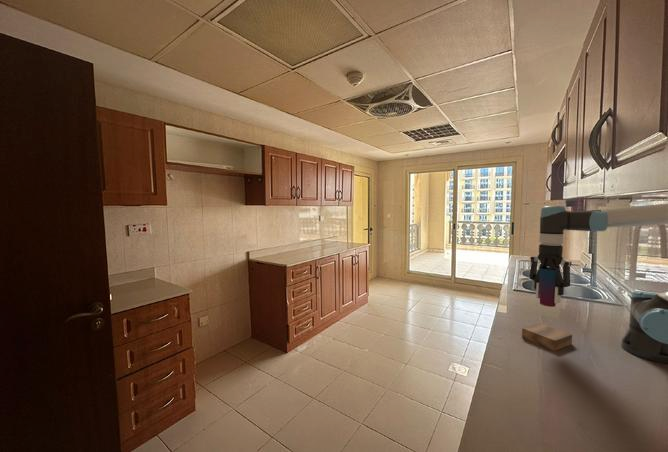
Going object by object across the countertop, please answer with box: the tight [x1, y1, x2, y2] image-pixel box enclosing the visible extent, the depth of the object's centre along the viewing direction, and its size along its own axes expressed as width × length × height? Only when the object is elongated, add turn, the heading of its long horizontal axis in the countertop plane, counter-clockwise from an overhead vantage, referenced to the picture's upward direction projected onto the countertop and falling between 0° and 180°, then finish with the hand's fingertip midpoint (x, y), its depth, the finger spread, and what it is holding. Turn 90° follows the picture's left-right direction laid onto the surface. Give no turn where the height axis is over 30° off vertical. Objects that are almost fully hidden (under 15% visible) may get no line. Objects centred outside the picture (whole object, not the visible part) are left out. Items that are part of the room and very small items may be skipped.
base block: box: [521, 322, 573, 352], centre depth 111 cm, size 12×12×4 cm
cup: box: [538, 266, 561, 308], centre depth 110 cm, size 7×7×15 cm
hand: (547, 300), depth 110 cm, fingers closed on cup, 6 cm apart
